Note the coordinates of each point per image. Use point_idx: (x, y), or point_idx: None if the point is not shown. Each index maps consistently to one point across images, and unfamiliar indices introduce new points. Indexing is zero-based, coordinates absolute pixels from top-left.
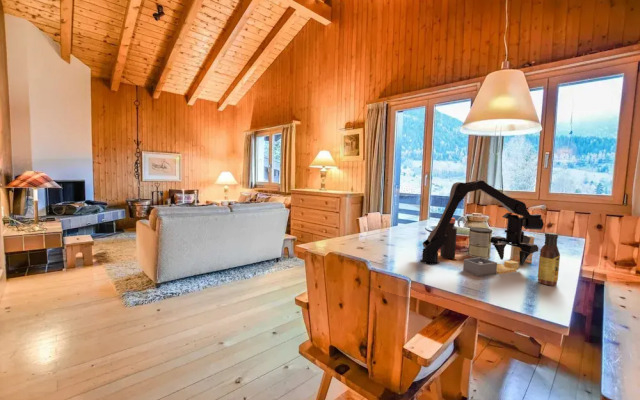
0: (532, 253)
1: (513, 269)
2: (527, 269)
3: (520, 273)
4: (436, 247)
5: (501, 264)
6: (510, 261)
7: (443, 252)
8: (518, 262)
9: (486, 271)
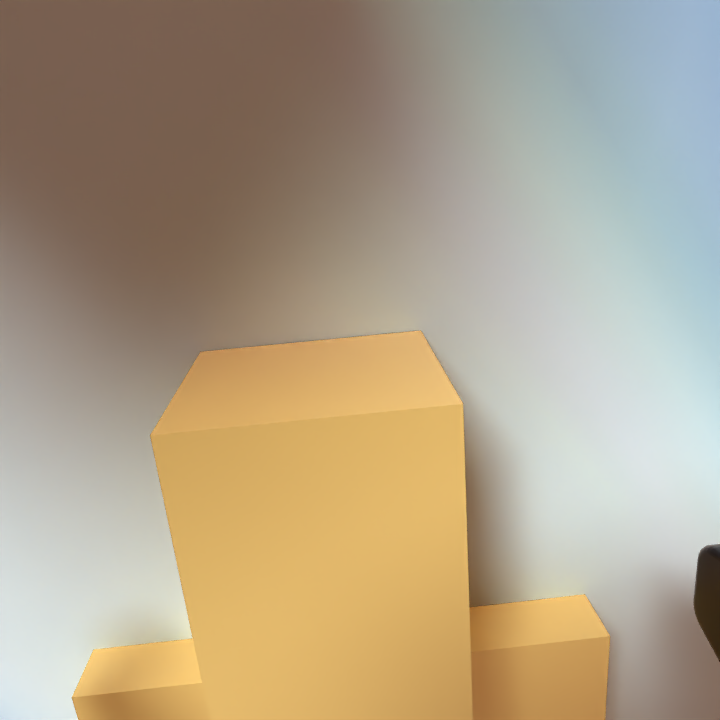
0: None
1: (589, 714)
2: (581, 123)
3: None
4: None
5: (162, 691)
6: (273, 613)
7: None
8: (462, 424)
9: None
